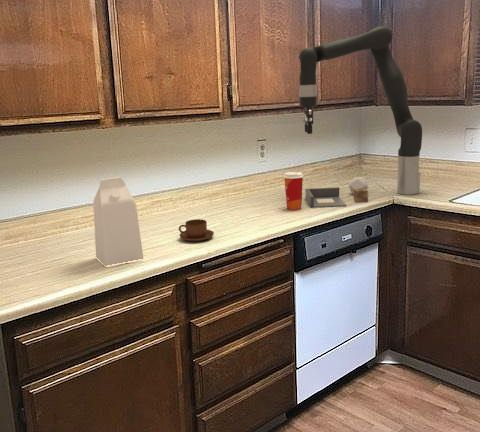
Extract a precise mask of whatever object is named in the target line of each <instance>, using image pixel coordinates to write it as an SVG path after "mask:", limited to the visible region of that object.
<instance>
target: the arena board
mask: <svg viewBox="0 0 480 432" xmlns="http://www.w3.org/2000/svg"><path fill="white" fill-rule="evenodd" d="M304 191H305V201H306V202H307V204H308V206H309V208H313V209H316V208H317V207H318V208H336V207H337V208H338V207H341V206H342V207H347V203H346V202H344V201H343V199H342V198H341V197H340V187H317V188H314V187H313V188H305V190H304ZM342 207H341V208H342Z"/></svg>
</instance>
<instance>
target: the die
mask: <svg viewBox="0 0 480 432" xmlns="http://www.w3.org/2000/svg"><path fill="white" fill-rule="evenodd" d="M366 179H367V178H366V177H365V176H364V177H360V176H359V177H358V176H357V177H356V176H354V177H353V178H352V179H351V180H350V182H349V184H348V187H349V190H350V192H351V194H352V195H353V196H354V189H366V190H368V189H369V185H368V182H367V180H366Z"/></svg>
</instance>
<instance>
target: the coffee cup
mask: <svg viewBox="0 0 480 432" xmlns="http://www.w3.org/2000/svg"><path fill="white" fill-rule="evenodd" d="M283 178H284V189H285V201H286V209H287V210H288V211H300V210H301V209H302V203H303V198H302V197H303V181H304V180H303V179H304V174H303V173H302V172H299V171H289V172H288V171H287V172H285V173H284V175H283Z"/></svg>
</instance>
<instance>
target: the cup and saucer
mask: <svg viewBox="0 0 480 432" xmlns="http://www.w3.org/2000/svg"><path fill="white" fill-rule="evenodd" d="M207 225H208V224H207V220H205V219H200V218H199V219H198V218H197V219H190V220H186V221H185V224H180V225H179V226H178V232H180V233H179V238H180V239H182V240H184V241H187V242H201V241H206V240H210V239H211V238H212V237H213V236H214V233H215V232H214V231H213V230H211V229H208V228H207V227H208V226H207ZM181 228H185V230H184V231H183V230H182V229H181Z"/></svg>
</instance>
